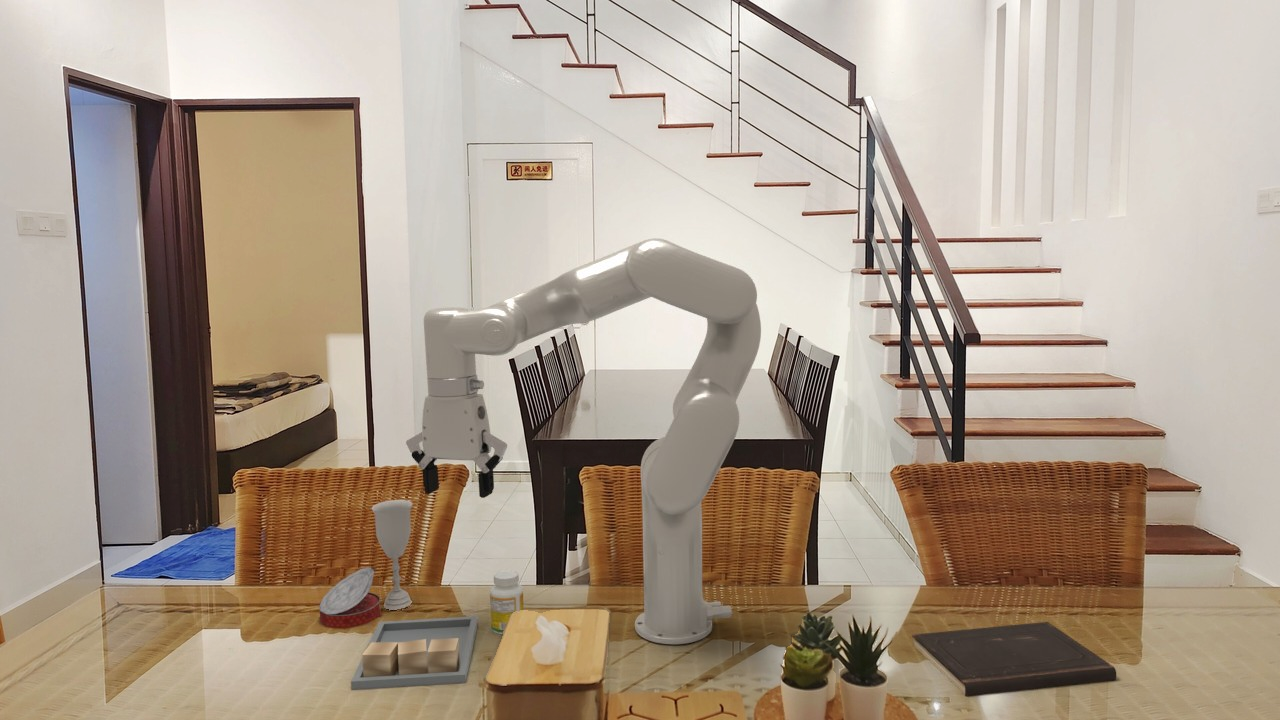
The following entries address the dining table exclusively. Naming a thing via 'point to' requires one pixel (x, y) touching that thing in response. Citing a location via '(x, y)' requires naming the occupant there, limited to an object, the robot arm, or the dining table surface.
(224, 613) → the dining table surface
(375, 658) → the block
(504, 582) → the supplement bottle
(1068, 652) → the hardcover book
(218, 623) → the dining table surface
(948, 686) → the dining table surface
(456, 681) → the tray
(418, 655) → the block
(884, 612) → the dining table surface
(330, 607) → the canned food
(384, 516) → the chalice
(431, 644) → the block
